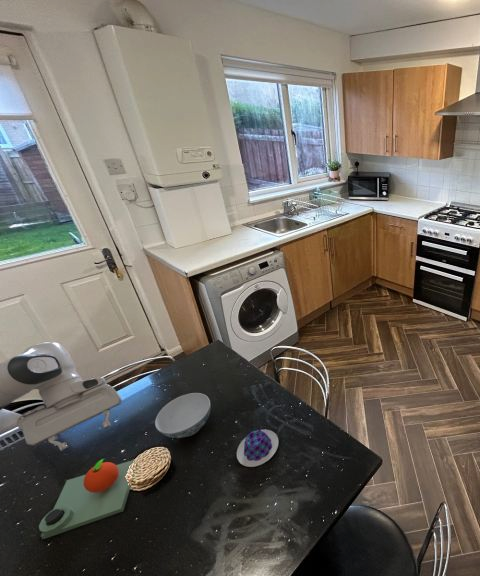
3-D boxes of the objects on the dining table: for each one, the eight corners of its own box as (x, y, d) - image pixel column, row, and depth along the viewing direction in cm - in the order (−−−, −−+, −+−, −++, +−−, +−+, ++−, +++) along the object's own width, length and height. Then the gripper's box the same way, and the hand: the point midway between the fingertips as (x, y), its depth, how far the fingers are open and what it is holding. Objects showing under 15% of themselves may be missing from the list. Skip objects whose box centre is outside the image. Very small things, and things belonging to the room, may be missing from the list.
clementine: (98, 473, 87) (86, 457, 83) (127, 464, 89) (117, 449, 85) (86, 502, 80) (72, 487, 77) (118, 492, 82) (106, 476, 79)
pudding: (235, 440, 97) (231, 430, 94) (275, 425, 101) (272, 414, 99) (239, 475, 87) (234, 464, 85) (282, 456, 92) (279, 446, 90)
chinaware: (214, 439, 97) (207, 423, 93) (159, 456, 92) (149, 440, 88) (217, 403, 109) (211, 387, 105) (168, 416, 104) (160, 400, 101)
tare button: (45, 527, 74) (42, 523, 73) (51, 514, 76) (48, 511, 76) (60, 522, 75) (57, 518, 74) (65, 510, 77) (62, 506, 77)
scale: (40, 541, 74) (33, 535, 72) (67, 483, 85) (62, 477, 84) (123, 512, 79) (118, 506, 78) (137, 461, 91) (133, 455, 89)
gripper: (8, 416, 80) (31, 464, 79) (107, 374, 93) (128, 415, 92) (18, 418, 85) (40, 463, 84) (111, 377, 98) (131, 416, 97)
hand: (87, 437), depth 88 cm, fingers open, 8 cm apart
